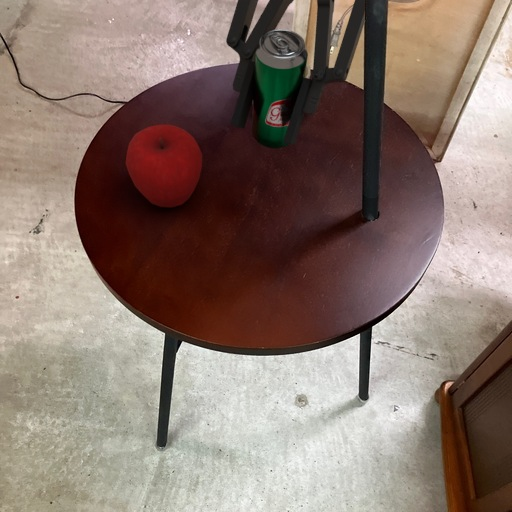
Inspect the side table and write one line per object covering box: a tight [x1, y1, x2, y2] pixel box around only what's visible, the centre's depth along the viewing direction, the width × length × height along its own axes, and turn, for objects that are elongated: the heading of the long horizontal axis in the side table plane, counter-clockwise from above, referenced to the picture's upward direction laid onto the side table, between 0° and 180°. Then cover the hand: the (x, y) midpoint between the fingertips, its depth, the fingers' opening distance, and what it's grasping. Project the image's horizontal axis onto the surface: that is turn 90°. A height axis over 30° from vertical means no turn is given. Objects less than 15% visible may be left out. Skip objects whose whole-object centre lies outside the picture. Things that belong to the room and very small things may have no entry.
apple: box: [125, 124, 203, 208], centre depth 71 cm, size 10×10×11 cm
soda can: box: [251, 28, 309, 150], centre depth 57 cm, size 5×5×12 cm
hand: (263, 134), depth 57 cm, fingers closed on soda can, 5 cm apart
